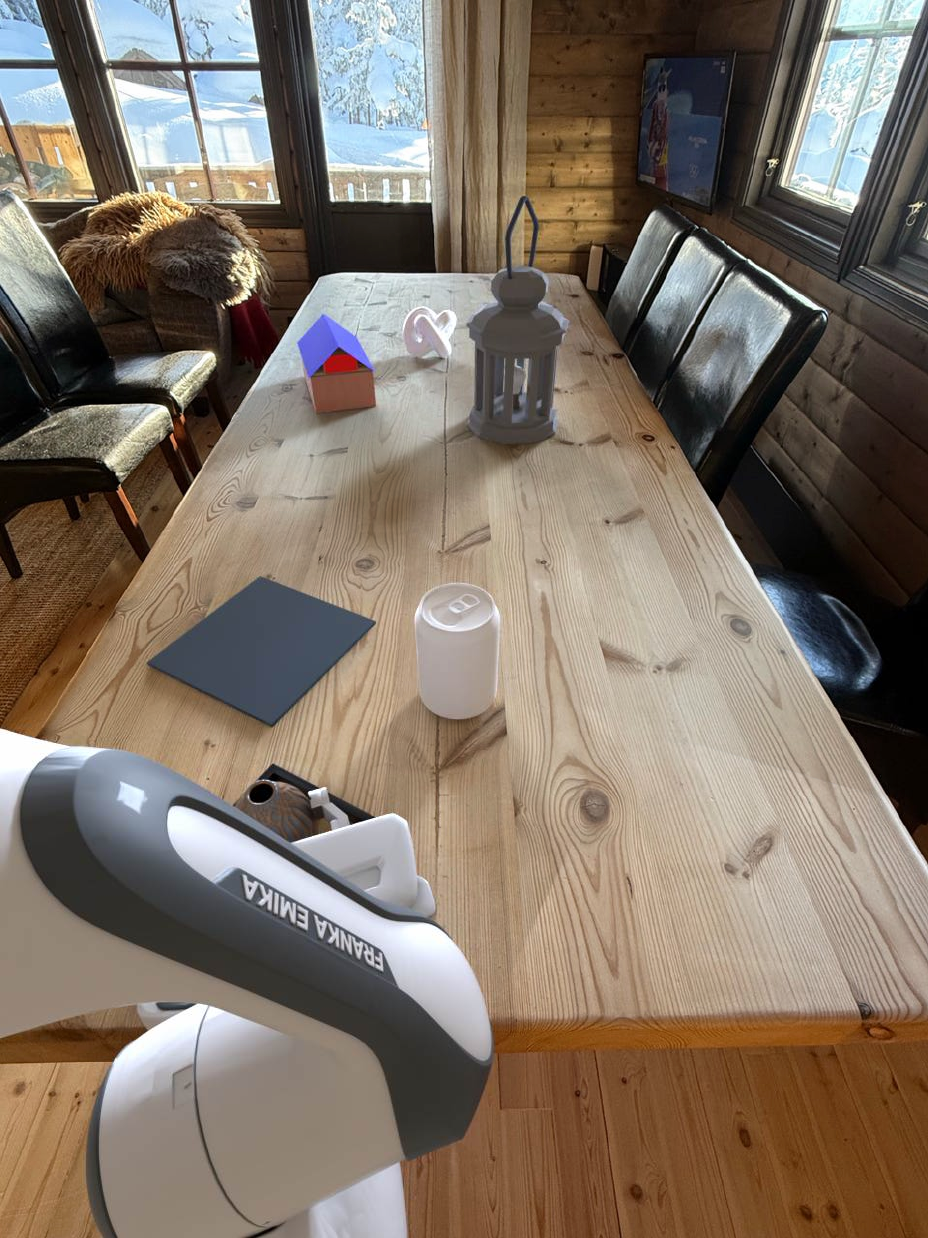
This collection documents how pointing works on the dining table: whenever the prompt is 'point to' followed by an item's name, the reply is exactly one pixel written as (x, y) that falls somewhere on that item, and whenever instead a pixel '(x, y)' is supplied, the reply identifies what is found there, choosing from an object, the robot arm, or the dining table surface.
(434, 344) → the white knot sculpture
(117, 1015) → the dining table surface
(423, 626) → the beverage can
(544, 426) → the lantern
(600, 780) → the dining table surface
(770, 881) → the dining table surface
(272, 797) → the vase
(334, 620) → the mat
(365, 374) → the house
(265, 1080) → the robot arm
